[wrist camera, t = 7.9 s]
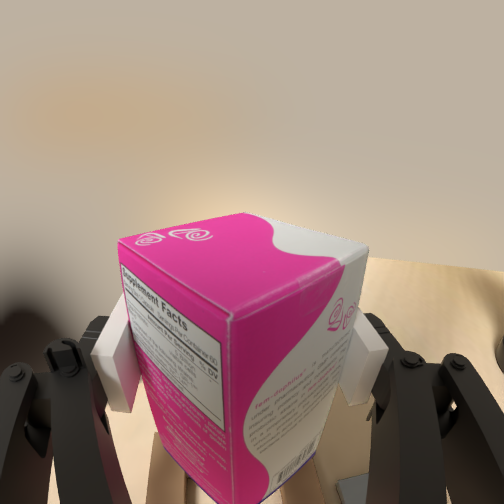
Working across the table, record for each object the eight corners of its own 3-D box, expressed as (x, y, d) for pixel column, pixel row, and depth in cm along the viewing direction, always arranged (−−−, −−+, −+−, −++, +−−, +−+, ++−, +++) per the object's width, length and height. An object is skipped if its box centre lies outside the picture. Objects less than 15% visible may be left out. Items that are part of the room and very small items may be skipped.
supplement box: (239, 399, 16) (248, 207, 12) (316, 454, 13) (382, 246, 9) (158, 445, 13) (113, 231, 9) (235, 523, 9) (244, 320, 5)
